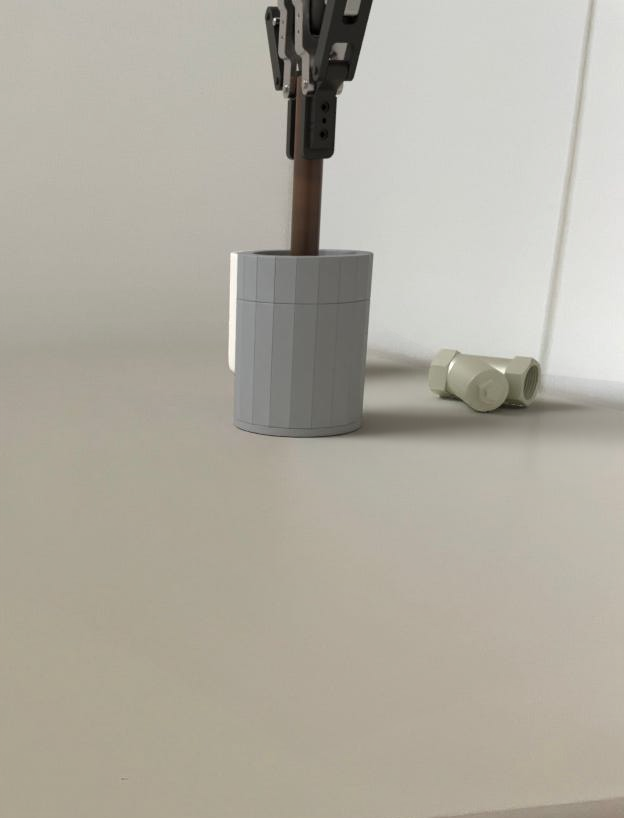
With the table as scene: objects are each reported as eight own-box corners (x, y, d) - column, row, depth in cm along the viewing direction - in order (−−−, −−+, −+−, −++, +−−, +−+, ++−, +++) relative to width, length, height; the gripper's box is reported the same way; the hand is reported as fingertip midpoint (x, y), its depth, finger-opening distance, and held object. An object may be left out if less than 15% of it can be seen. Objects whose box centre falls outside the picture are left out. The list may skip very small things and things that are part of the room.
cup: (331, 408, 85) (340, 247, 80) (382, 432, 77) (396, 255, 72) (217, 414, 83) (220, 250, 78) (257, 440, 75) (263, 258, 70)
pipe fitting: (499, 422, 81) (538, 402, 86) (504, 370, 80) (543, 353, 84) (406, 409, 86) (447, 391, 91) (408, 360, 85) (450, 344, 89)
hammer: (304, 314, 79) (314, 80, 73) (341, 319, 76) (355, 75, 70) (262, 318, 77) (269, 77, 71) (298, 324, 74) (309, 72, 68)
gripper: (431, -180, 61) (405, 156, 67) (335, -117, 73) (322, 161, 80) (306, -188, 59) (293, 157, 66) (230, -123, 71) (225, 162, 78)
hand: (309, 158), depth 73 cm, fingers closed on hammer, 2 cm apart
